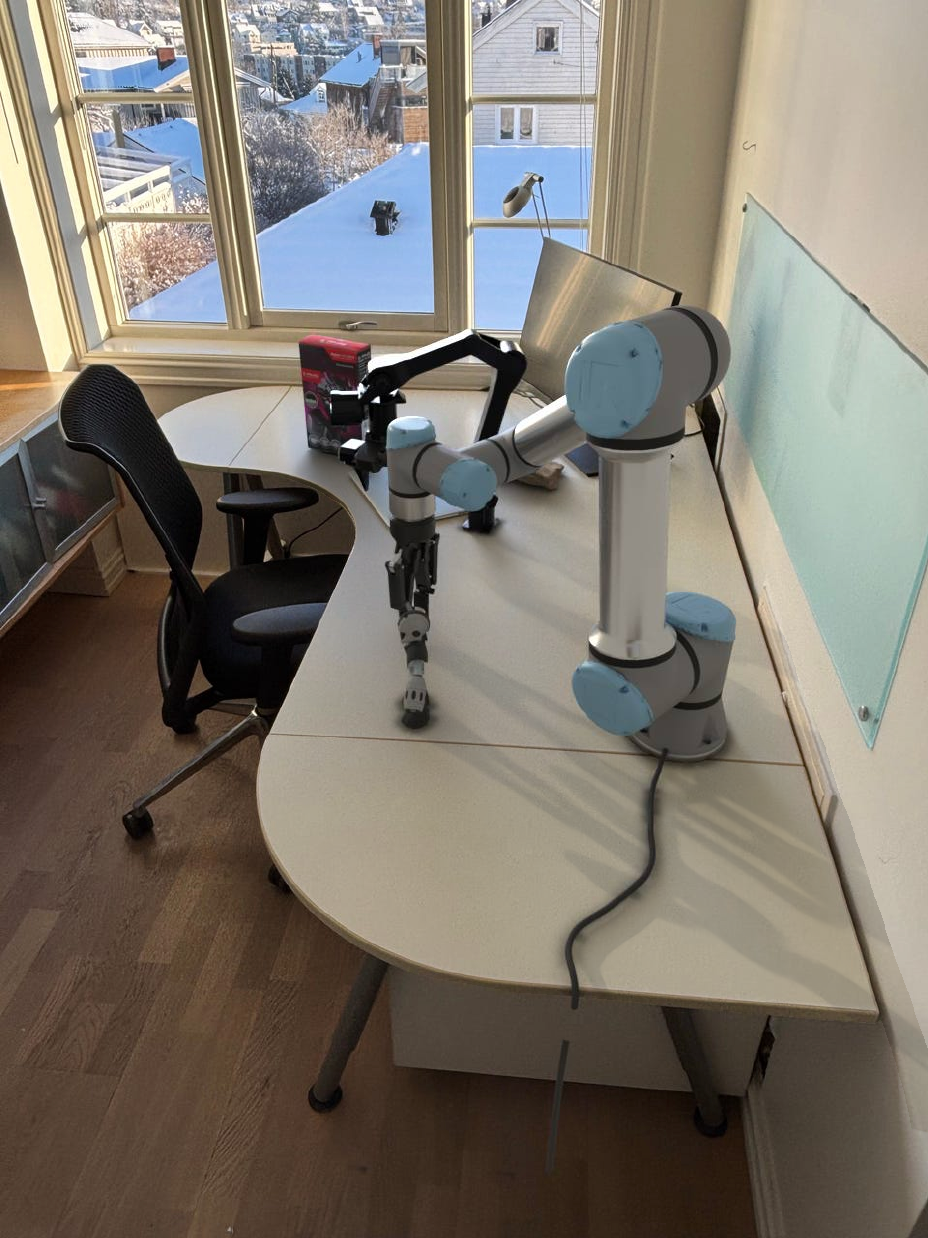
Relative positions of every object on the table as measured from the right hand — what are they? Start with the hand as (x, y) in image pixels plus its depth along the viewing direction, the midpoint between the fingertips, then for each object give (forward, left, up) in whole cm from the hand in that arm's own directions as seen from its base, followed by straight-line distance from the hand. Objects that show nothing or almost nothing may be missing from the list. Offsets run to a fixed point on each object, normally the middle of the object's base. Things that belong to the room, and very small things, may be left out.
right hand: (414, 630), depth 163 cm
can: (0, 0, 0) cm, 0 cm away
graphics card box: (+72, +42, -2) cm, 84 cm away
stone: (+70, -3, -2) cm, 70 cm away
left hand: (+36, +18, +7) cm, 41 cm away
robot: (-20, -7, -2) cm, 21 cm away
